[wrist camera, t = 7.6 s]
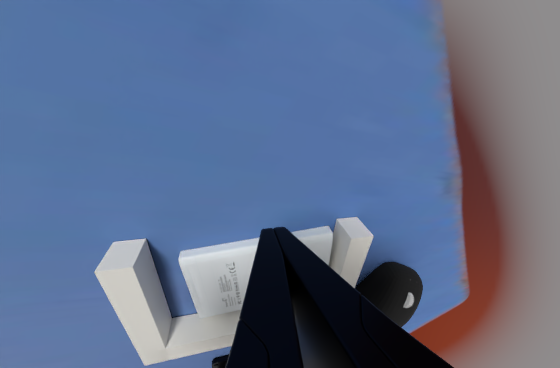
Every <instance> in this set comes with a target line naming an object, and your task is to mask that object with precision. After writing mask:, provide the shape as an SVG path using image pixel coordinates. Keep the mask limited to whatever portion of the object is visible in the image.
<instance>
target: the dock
mask: <svg viewBox="0 0 560 368" xmlns="http://www.w3.org/2000/svg"><path fill="white" fill-rule="evenodd" d="M373 237H374V236H373V235H372V234H371V232H370V231H369V230H368V229H367V228H366V227H365V226H364V225H363V223H362V222H361V221H360V220H359V219H358V218H357V217H351V218H342V219H336V224H335V228H334V232H333V242H332V248H331V254H330V261H329V266H330V267H331V268H332V269H333V270H334V271H335V272H336V273H338V274H339V275H340V276H341V277H342V278H343V279H344V280H346V281H347V282H348V283H349V284H350V285H351V286H352V287H354V288H355V286H356V283H357V280H358V278H359V275H360V272H361V269H362V267H363V264H364V261H365V258H366V256H367V253H368V250H369V247H370V245H371V242H372V239H373ZM94 273H95V275H96V276H97V278H98V280H99V282H100V284H101V286H102V288H103V289H104V291H105V293H106V295H107V297H108V299H109V300H110V302H111V304H112V306H113V308H114V310H115V312H116V313H117V315H118V317H119V319H120V321H121V323H122V324H123V326H124V328H125V330H126V332H127V334H128V336H129V337H130V339H131V341H132V343H133V345H134V347H135V348H136V350H137V352H138V354H139V356H140V358H141V360H142V361H143V363H144V365H150V364H154V363H159V362H163V361H167V360H172V359H176V358H180V357H185V356H189V355H194V354H198V353H202V352H207V351H211V350H216V349H220V348H224V347H229V346H232V343H233V340H234V336H235V332H236V328H237V324H238V321H239V317H240V313H241V310H237V311H233V312H228V313H224V314H219V315H214V316H211V317H206V318H202V319H200V318H199V316H198V313H197V314H191V315H186V316H181V317H175V318H172V317H171V313H170V310H169V307H168V304H167V301H166V298H165V295H164V292H163V289H162V286H161V283H160V280H159V277H158V274H157V271H156V268H155V265H154V262H153V258H152V255H151V252H150V249H149V246H148V243H147V240H146V239H136V240H127V241H117V242H113V244H112V245H111V247H110V248H109V250H108V251H107V253H106V254H105V256H104V258H103V259H102V261H101V262H100V264H99V265H98V267H97V268H96V270H95V272H94Z"/></svg>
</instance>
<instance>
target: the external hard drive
mask: <svg viewBox="0 0 560 368" xmlns="http://www.w3.org/2000/svg"><path fill="white" fill-rule="evenodd" d="M291 233H292V234H293V235H294V236H295V237H297V238H298V239H299V240H300V241H301V242H302V243H303V244H305V245H306V246H307V247H308V248H309V249H310V250H311V251H313V252H314V253H315V254H316V255H317V256H318V257H319V258H321V259H322V260H323V261H324V262H325V263H326V264H327V265H328V266H329V261H330V254H331V248H332V242H333V233H332V231H331V229H330V228H329V226H324V227H318V228H312V229H306V230H301V231H295V232H291ZM258 242H259V238H254V239H248V240H242V241H237V242H231V243H225V244H219V245H213V246H207V247H202V248H196V249H190V250H184V251H181V252H180V255H179V264H180V267H181V270H182V272H183V275H184V278H185V280H186V283H187V286H188V289H189V291H190V294H191V297H192V300H193V302H194V305H195V308H196V311H197V313H198V316H199V318H200V319H202V318H206V317H211V316H214V315H219V314H224V313H228V312H233V311H237V310H241V309H242V305H243V301H244V297H245V293H246V289H247V285H248V281H249V277H250V273H251V269H252V265H253V261H254V257H255V253H256V250H257V246H258Z"/></svg>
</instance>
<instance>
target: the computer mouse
mask: <svg viewBox="0 0 560 368" xmlns="http://www.w3.org/2000/svg"><path fill="white" fill-rule="evenodd" d="M355 289H356V290H357V291H358V292H359V293H360V295H363V296H364V297H365V298H366V299H367V300H369V301H370V302H371V303H372V304H373V305H374V306H375V307H377V308H378V309H379V310H380V311H381V312H383V313H384V314H385V315H386V316H387V317H389V318H390V319H391V320H392V321H393V322H395V323H396V324H397V325H398V326H400V327H402V326H403V325H405V324H406V323H407V322H408V321H409V319H410V318H411V317H412V315H413V314H414V312H415V310H416V309H417V307H418V304H419V302H420V299H421V295H422V290H423V285H422V281H421V279H420V277H419V275H418V274H417V272H416V271H414V270H413V269H411V268H409V267H407V266H404V265H402V264H399V263H396V262H386V263H383V264H381V265H380V266H379V267H377V268H376V269H375V270H374V271H373V272H372V273H371V274H370V275H368V276H367V277H366V278H365V279H364V280H363V281H362V282H361V283H360V284H359V285H358V286H357V287H356V288H355Z"/></svg>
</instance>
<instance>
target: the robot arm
mask: <svg viewBox="0 0 560 368" xmlns="http://www.w3.org/2000/svg"><path fill="white" fill-rule="evenodd" d="M212 368H454V367H452V366H451V365H450V364H448V363H447V362H446V361H444V360H443V359H442V358H440V357H439V356H438V355H436V354H435V353H434V352H432V351H431V350H430V349H428V348H427V347H426V346H424V345H423V344H422V343H420V342H419V341H418V340H416V339H415V338H414V337H413V336H411V335H410V334H409V333H407V332H406V331H405V330H404V329H402V328H401V327H400V326H398V325H397V324H396V323H395V322H393V321H392V320H391V319H390V318H389V317H387V316H386V315H385V314H384V313H383V312H381V311H380V310H379V309H378V308H377V307H375V306H374V305H373V304H372V303H371V302H370V301H369V300H367V299H366V298H365V297H364V296H363V295H360V293H359V292H358V291H357V290H356V289H355V288H354V287H352V286H351V285H350V284H349V283H348V282H347V281H346V280H344V279H343V278H342V277H341V276H340V275H339V274H338V273H336V272H335V271H334V270H333V269H332V268H331V267H330V266H328V265H327V264H326V263H325V262H324V261H323V260H322V259H321V258H319V257H318V256H317V255H316V254H315V253H314V252H313V251H311V250H310V249H309V248H308V247H307V246H306V245H305V244H303V243H302V242H301V241H300V240H299V239H298V238H297V237H295V236H294V235H293V234H292V233H291V232H290V231H289V230H287V229H286V228H285V227H276V228H274V229H272V228H267V229H262V230H261V234H260V238H259V242H258V246H257V250H256V253H255V257H254V261H253V265H252V269H251V273H250V277H249V281H248V285H247V289H246V293H245V297H244V301H243V305H242V309H241V313H240V317H239V321H238V324H237V328H236V332H235V336H234V340H233V343H232V347H231V350H230V354H229V356H225V357H221V358H217V359H214V360H213V361H212Z"/></svg>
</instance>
